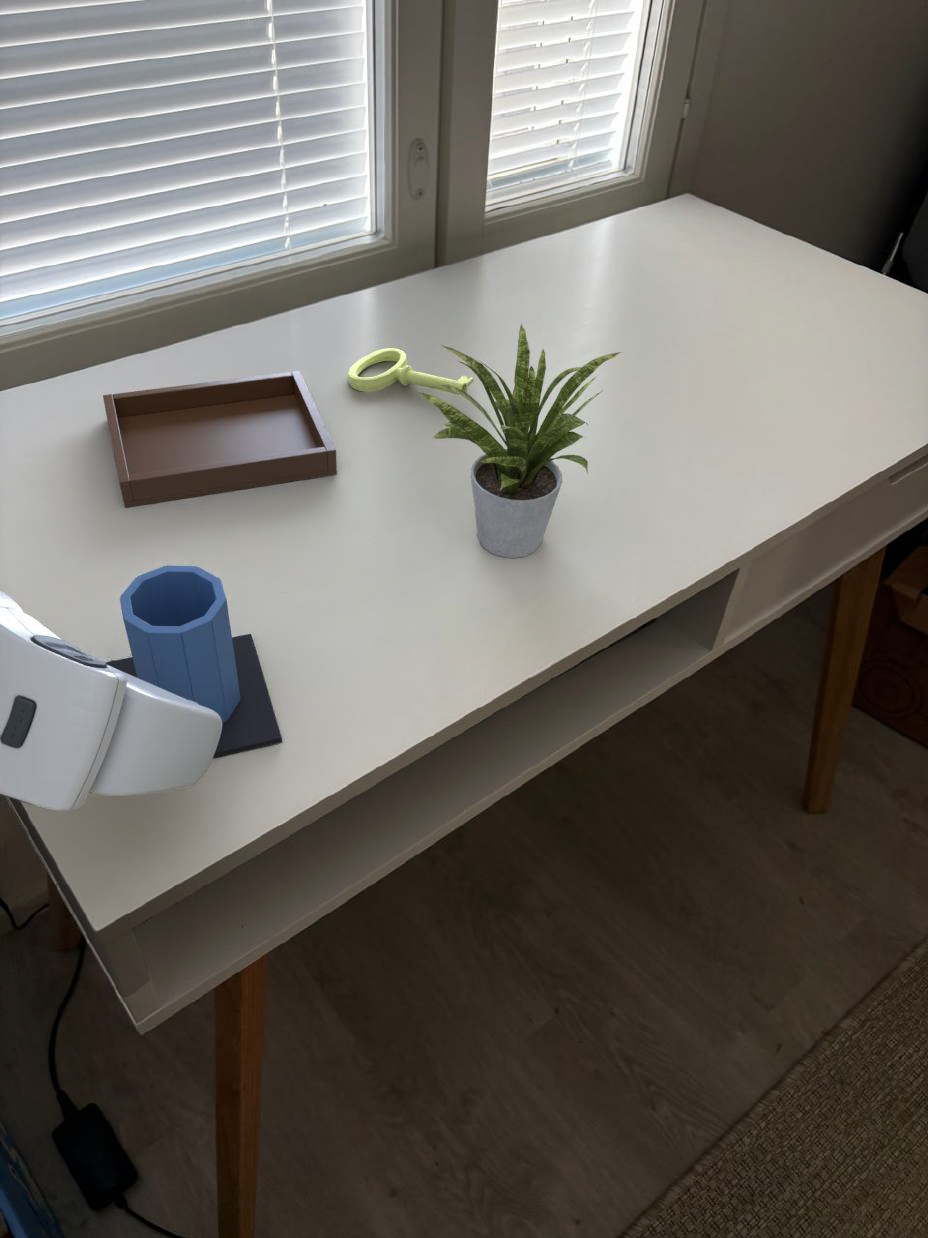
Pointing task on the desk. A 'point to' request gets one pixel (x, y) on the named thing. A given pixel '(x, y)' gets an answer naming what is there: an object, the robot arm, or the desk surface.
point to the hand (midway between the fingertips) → (118, 683)
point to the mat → (240, 703)
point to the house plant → (518, 450)
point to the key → (398, 374)
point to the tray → (217, 437)
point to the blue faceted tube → (183, 635)
